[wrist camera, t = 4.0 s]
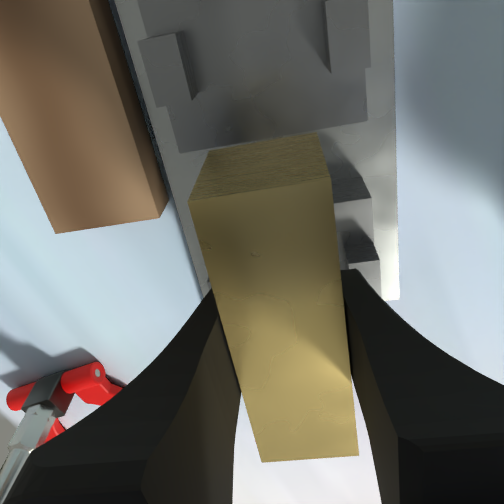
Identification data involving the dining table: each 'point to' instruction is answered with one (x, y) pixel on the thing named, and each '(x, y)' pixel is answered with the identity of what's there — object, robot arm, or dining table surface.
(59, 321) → the dining table surface
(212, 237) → the link bar
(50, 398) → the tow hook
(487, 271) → the dining table surface
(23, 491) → the robot arm
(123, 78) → the block
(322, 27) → the grey stepped metal block
